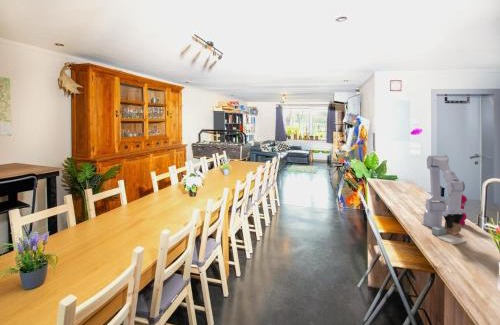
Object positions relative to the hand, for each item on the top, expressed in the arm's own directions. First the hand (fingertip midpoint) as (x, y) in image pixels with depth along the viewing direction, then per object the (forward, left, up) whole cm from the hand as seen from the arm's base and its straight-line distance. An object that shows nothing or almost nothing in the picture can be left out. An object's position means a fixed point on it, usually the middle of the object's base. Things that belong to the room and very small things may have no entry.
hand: (452, 227), depth 155 cm
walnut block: (0, 0, -2) cm, 2 cm away
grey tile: (0, 0, -7) cm, 7 cm away
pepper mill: (-16, +28, -8) cm, 33 cm away
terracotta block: (-7, +10, -7) cm, 14 cm away
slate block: (-8, +1, -7) cm, 11 cm away
